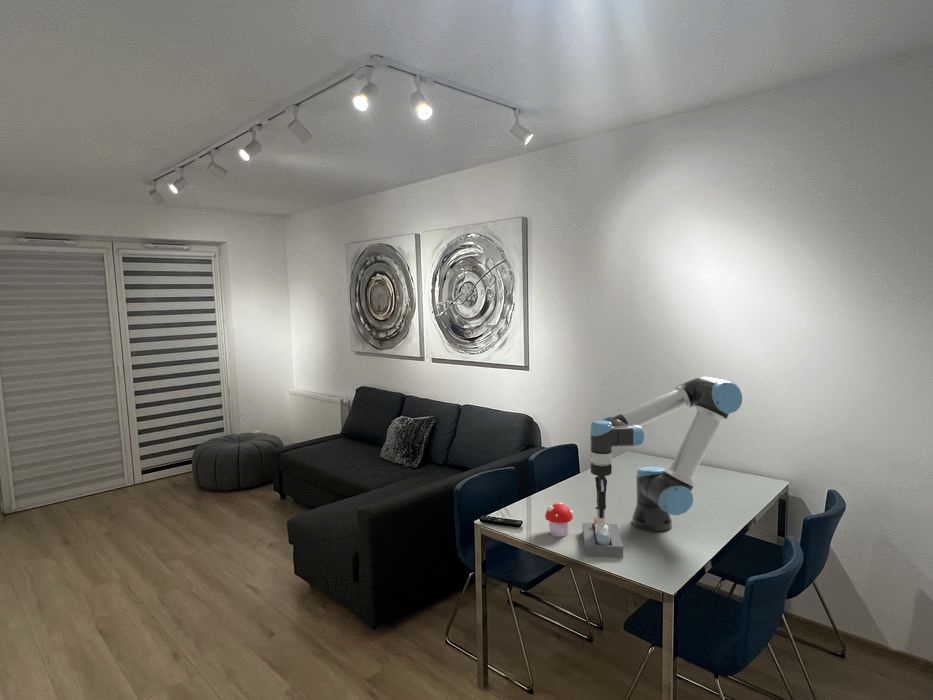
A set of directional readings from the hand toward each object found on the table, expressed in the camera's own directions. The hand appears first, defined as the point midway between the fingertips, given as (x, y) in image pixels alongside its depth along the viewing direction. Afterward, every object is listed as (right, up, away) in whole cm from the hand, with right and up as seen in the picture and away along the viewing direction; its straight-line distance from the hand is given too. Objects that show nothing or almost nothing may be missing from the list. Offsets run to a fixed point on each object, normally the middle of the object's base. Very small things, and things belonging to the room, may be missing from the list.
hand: (601, 525), depth 199 cm
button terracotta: (+1, -4, +7) cm, 8 cm away
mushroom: (-13, -7, +11) cm, 19 cm away
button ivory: (0, -5, 0) cm, 5 cm away
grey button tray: (+1, -7, +1) cm, 7 cm away
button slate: (-1, -5, -6) cm, 8 cm away
